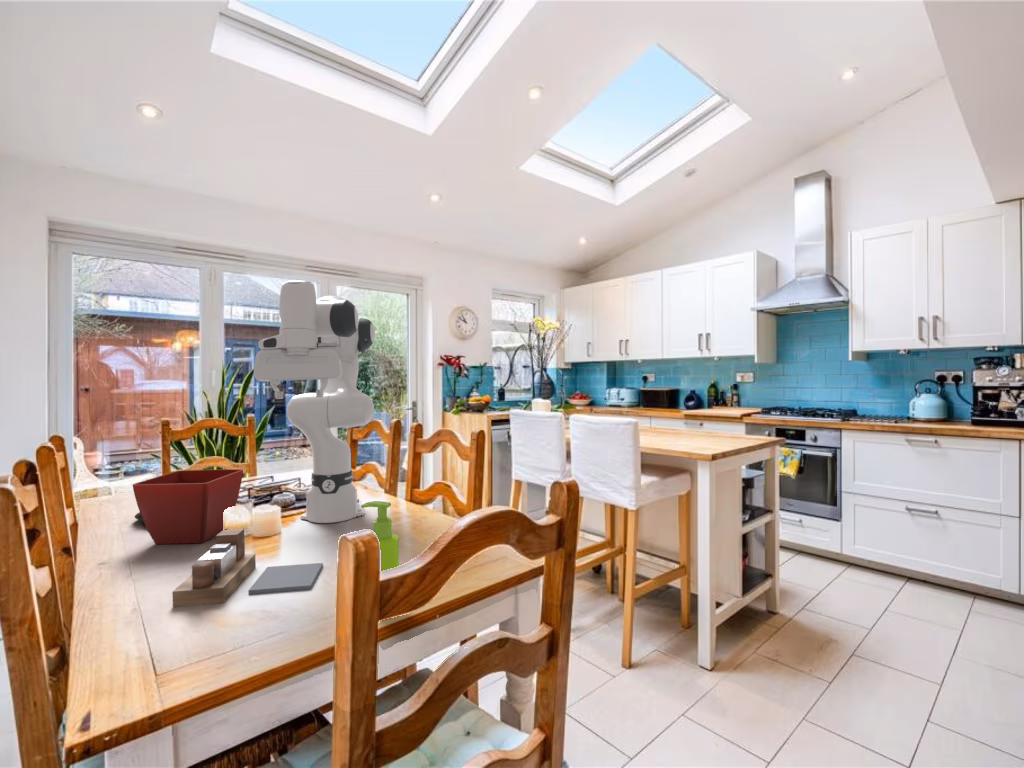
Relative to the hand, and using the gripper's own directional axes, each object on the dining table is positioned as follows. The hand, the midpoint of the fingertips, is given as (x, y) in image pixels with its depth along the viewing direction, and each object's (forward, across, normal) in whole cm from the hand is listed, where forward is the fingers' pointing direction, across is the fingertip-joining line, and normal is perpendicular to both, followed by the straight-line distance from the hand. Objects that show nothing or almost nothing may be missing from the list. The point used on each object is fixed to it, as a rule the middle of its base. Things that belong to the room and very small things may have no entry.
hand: (299, 398), depth 119 cm
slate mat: (+40, 0, +11) cm, 42 cm away
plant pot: (+36, +34, -24) cm, 55 cm away
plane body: (+40, +14, +11) cm, 44 cm away
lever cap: (+37, +14, +12) cm, 41 cm away
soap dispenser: (+43, -20, +28) cm, 55 cm away
